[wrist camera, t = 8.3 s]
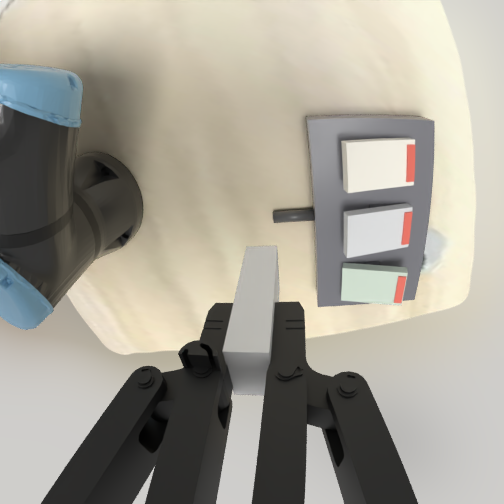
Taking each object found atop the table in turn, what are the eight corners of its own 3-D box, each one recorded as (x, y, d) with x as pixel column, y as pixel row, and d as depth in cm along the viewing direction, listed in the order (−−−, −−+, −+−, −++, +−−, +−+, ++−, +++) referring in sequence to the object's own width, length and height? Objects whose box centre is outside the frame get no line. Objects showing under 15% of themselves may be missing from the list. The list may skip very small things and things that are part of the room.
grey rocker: (343, 252, 32) (347, 259, 31) (343, 211, 30) (348, 216, 29) (403, 241, 32) (409, 247, 31) (407, 203, 30) (413, 207, 29)
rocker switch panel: (282, 290, 44) (280, 311, 40) (261, 120, 32) (257, 125, 28) (406, 282, 40) (415, 302, 36) (420, 116, 28) (437, 121, 24)
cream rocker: (343, 189, 29) (348, 193, 27) (341, 140, 26) (347, 143, 25) (407, 181, 29) (414, 185, 28) (408, 137, 26) (416, 140, 25)
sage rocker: (342, 294, 38) (340, 301, 37) (343, 262, 35) (342, 269, 34) (401, 299, 35) (401, 306, 34) (406, 267, 32) (407, 274, 31)
